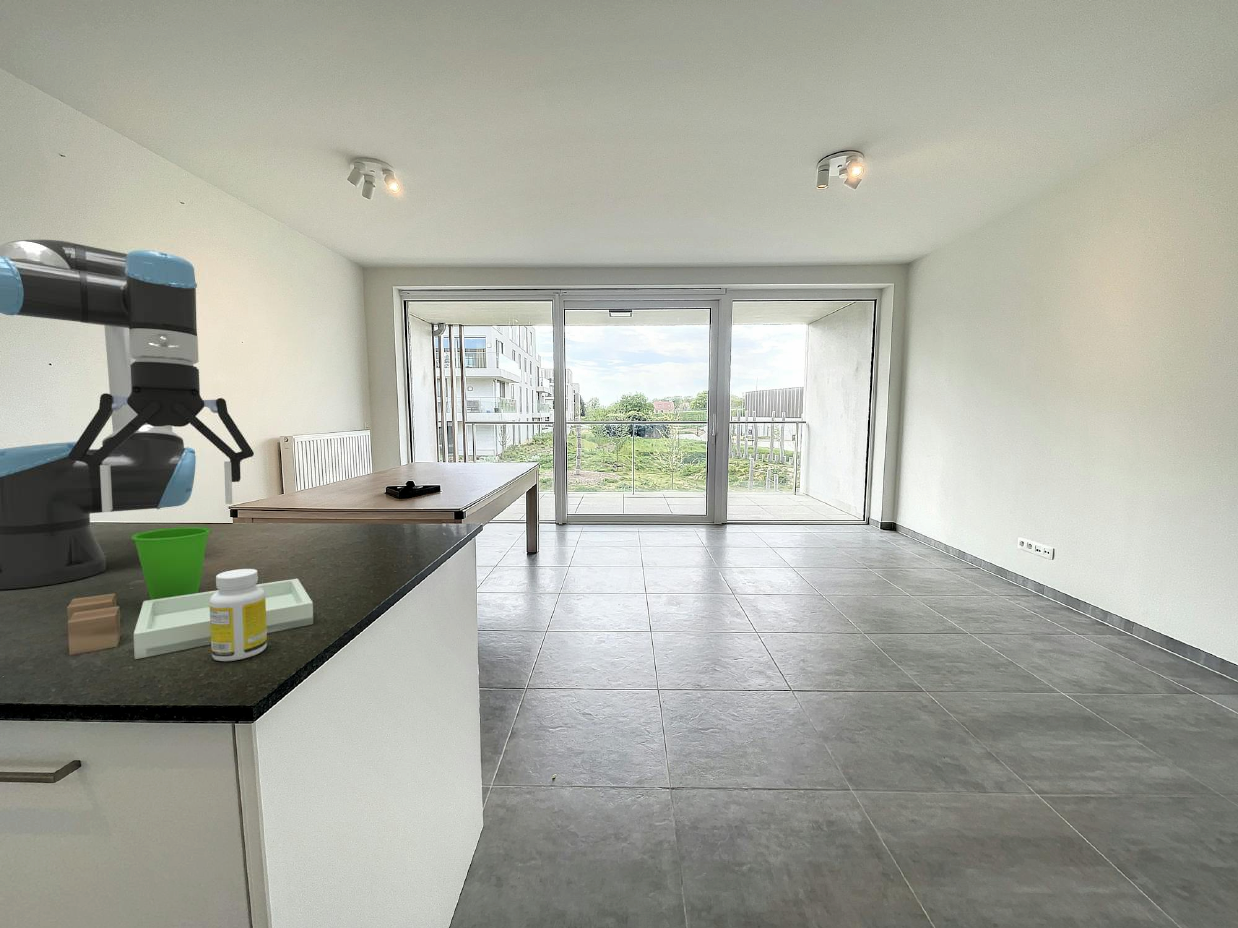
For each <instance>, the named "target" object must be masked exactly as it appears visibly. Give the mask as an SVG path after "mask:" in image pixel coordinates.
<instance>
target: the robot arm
mask: <svg viewBox="0 0 1238 928" xmlns="http://www.w3.org/2000/svg"><path fill="white" fill-rule="evenodd" d="M195 273H196V272H195V267H194V266H193V264H192V263H191V262H190V261H189V260H187V259H185V258H182V257H180V256H177V255H175V254H170V253H165V252H161V251H155V250H147V249H146V250H145V249H137V250H131V251H129V252H128V253H126V252H125V253H124V252H119V251H114V250H109V249H106V248H105V249H104V248H99V247H95V246H89V245H83V244H79V243H75V242H69V241H64V240H58V239H57V240H56V239H55V240H54V239H21V240H13V241H10V242H6V243H4V244H2V245H0V314H3V315H6V316H23V317H32V318H40V319H49V320H58V321H59V320H60V321H68V322H69V321H70V322H77V323H82V324H90V325H99V326H103V327H104V336H105V349H106V350H105V351H106V360H107V361H106V362H107V363H106V364H107V374H108V375H107V376H108V389H109V393H107V392H106V393H102V394H101V395H100V397H99V406H98V410H97V411H96V412H95V414H94V416H93V417H92V419H91V420H90V422H89V423H88V425H87V426H86V428H85V429H84V431H83V432H82V434H81V435H80V437H79V438H78V440H77V441H67V442H56V443H55V442H54V443H46V444H45V443H43V444H35V445H33V444H32V445H23V446H14V447H7V448H1V449H0V590H13V589H14V590H15V589H23V588H24V589H25V588H26V589H27V588H33V587H42V586H49V585H55V584H59V583H60V584H61V583H67V582H71V581H76V580H80V579H84V578H88V577H92V576H95V575H98V574H100V573H102V572H104V571H106V569H107V560H106V555H105V554H104V552H103V550H102V548H101V546H100V544H99V543H98V541H97V539H96V537H95V535H94V533H93V531H92V530H91V529H92V528H91V521H90V520H91V517H90V514H95V513H96V514H98V513H99V514H100V513H114V512H125V511H127V512H128V511H138V510H141V511H142V510H151V509H152V510H154V509H156V510H161V509H165V508H173V507H180V506H183V505H185V504H186V503H187V502H188V501H189V500H190V498H191V496H192V492H193V487H194V482H195V474H196V465H197V463H196V462H197V461H196V460H197V459H196V450H195V449H194V448H190V447H188V446H187V447H185V444H184V439H183V437H181V435H178V434H177V433H176V432H174V431H173V427H176V428H180V427H182V428H183V427H186V426H187V425H189V424H190V425H191V426H192V427H194V428H195V429H196V431H198V432H199V433H200V434H201V435H202V436H203V437H205V438H206V439H207V440H208V441H209V442H210V443H211V444H213V445H214V447H216V448H217V449H218V450H219V451H221V453H223V455H225V456H226V457H227V458H228V459H229V461H223V463H224V464H223V465H224V466H223V467H224V491H225V492H224V493H225V504H226V505H233V483H237V482H238V483H239V482H240V481H241V478H242V477H241V462H242V461H243V460H245V459H249V458H253V457H254V455H255V452H254V451H253V450H254V449H252V447H251V446H250V444H249V443H248V441H247V440H246V438H245V436H244V435H243V434H242V432H241V431H240V429H239V428H238V426H237V424H236V423H235V421H234V420H233V418H232V416H230V414H229V412H228V406H227V401H226V400H225V399H224V398H222V397H219V398H216V399H203V398H202V396H201V389H200V388H201V387H200V386H201V385H200V369H199V368H198V367H197V366H195V364H196V365H197V363H199V360H200V359H199V337H198V331H197V330H198V329H197V291H196V290H197V289H196V288H198V283H196V275H195ZM205 408H207V409H209V410H210V411H211V413H213V414H217V415H218V417H219V419H220V421H221V422H222V424H223V425H224V427H225V428H226V430H227V431H228V432H229V434H230V435H231V437H232V439H233V440H234V442H235V443H236V445H237V446H238V448H239V450H240V451H238V452H236V451H235V450H233V449H232V448H231V446H229V445H228V444H227V443H226V442H224V440H223V439H221V437H219V436H218V435H217V434H216V433H215V432H214V431H212V429H210V428H209V427H208V426H207V425H206V424H205V423H204V422H202V420H200V419H199V418H198V417H197V416H198V415H199V413H200V412H202V410H203V409H205ZM110 418H111V423H112V424H111V425H112V432H111V433H110V434H109V435H108V436H106V437H105V438H104V439H102V440H101V445H102V446H100V447H99V448H97V449H90V448H91V446H93V444H94V442H95V440H96V439H97V438H98V436H99V435H100V433H101V432H102V430H103V428H104V427H105V426H106V424H107V423H108V421H109V419H110Z"/></svg>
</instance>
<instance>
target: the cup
mask: <svg viewBox="0 0 1238 928" xmlns="http://www.w3.org/2000/svg"><path fill="white" fill-rule="evenodd" d="M210 532H212V530H211V528H209V527H205V526H177V527H167V528H166V527H165V528H159V529H158V528H156V529H153V530H150V529H149V530H145V531H141V532H137V533H133V534H132V536H131V537H130V539H131V540H134V543H135V544H134V545H135V547H136V551H137V554H138V558H139V563H140V566H141V570H142V574H143V577H144V581H145V585H146V588H147V592H148V596H149V600H155V599H161V598H168V597H175V596H182V595H189V594H196V593H200V586H201V580H202V579H201V578H202V572H203V567H204V561H205V555H206V554H205V553H206V546H207V541H208V537H209V533H210Z"/></svg>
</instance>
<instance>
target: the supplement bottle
mask: <svg viewBox="0 0 1238 928" xmlns="http://www.w3.org/2000/svg"><path fill="white" fill-rule="evenodd" d="M258 580H259V575H258V570H257V569H254V568H241V569H240V568H239V569H232V570H227V571H222V572H220V573H218V574H217V575H216V576H215V585H216V589H217V590H219V592H217V593H215V594H214V595H213V596H212V597H211V598H210V605H209V606H210V629H211V644H210V646H211V648H210V649H211V656H212V658H213V660H215V661H220V662H232V661H238V660H244V659H247V658H250V657H253V656H256V655H259V654H260V653H262V652H263V651H265V649H266V648H267V646H268V636H267V635H268V633H267V624H266V602H265V592H264V590H263V589H262V588H260V587H258V586H256V585H257V583H258Z"/></svg>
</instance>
